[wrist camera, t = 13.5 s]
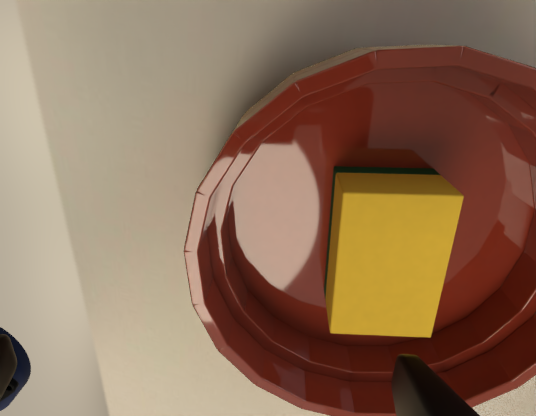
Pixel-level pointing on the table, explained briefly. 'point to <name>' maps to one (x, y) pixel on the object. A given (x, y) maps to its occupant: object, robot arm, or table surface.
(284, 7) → the table surface
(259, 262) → the wash bowl
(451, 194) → the sponge
